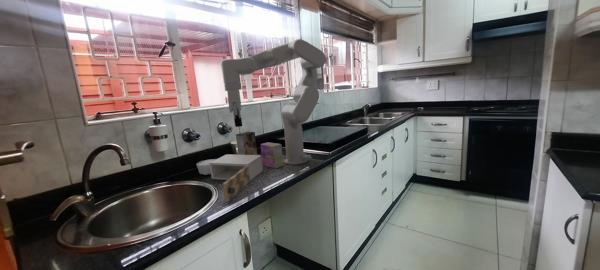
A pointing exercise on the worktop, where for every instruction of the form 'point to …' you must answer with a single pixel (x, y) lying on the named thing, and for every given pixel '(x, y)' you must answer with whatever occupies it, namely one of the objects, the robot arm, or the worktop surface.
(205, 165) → the ramekin
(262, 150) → the box
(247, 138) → the coffee box
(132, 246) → the worktop surface
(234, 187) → the door
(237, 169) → the box
